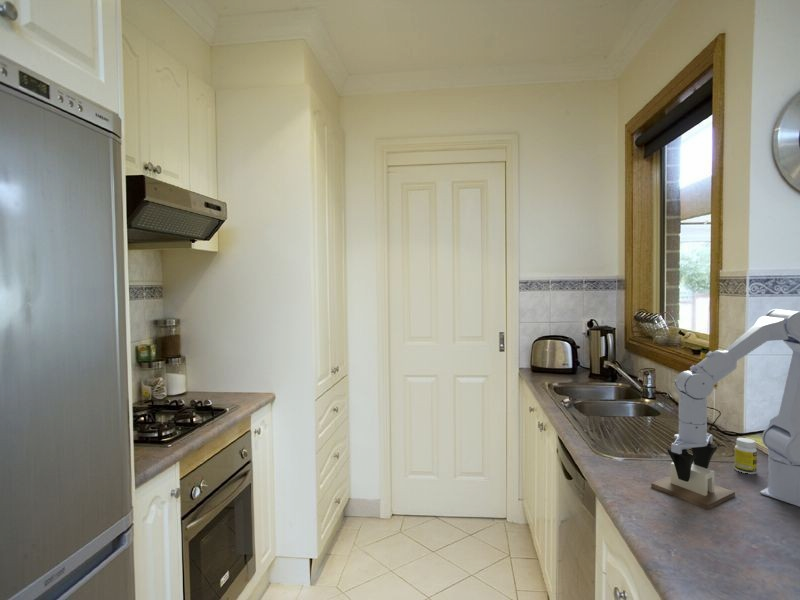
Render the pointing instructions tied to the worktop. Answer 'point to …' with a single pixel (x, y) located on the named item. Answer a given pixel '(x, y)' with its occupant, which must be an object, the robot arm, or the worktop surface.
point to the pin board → (694, 493)
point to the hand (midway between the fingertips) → (692, 476)
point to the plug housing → (695, 479)
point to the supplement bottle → (745, 456)
